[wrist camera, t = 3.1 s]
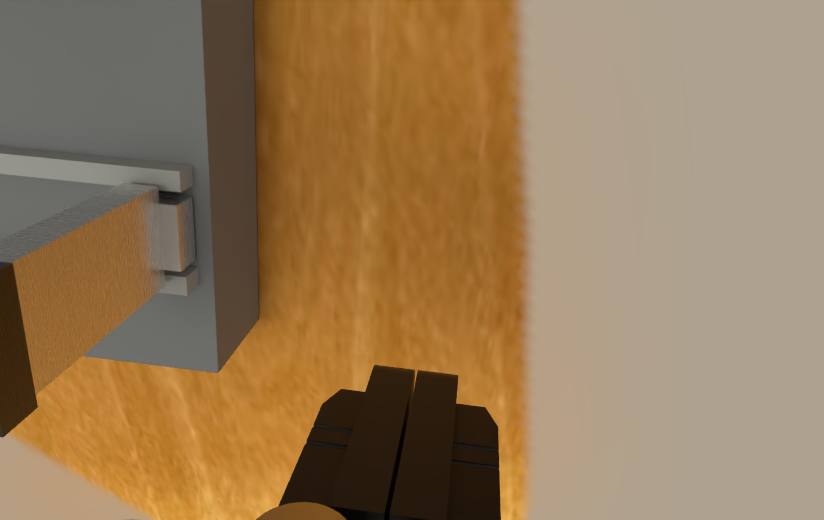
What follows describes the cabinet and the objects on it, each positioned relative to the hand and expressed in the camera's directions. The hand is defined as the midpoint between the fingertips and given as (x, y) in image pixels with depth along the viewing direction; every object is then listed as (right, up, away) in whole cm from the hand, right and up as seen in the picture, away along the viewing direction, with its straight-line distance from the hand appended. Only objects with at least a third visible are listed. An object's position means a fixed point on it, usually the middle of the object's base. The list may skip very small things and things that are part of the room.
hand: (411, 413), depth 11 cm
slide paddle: (-8, +4, +8) cm, 11 cm away
